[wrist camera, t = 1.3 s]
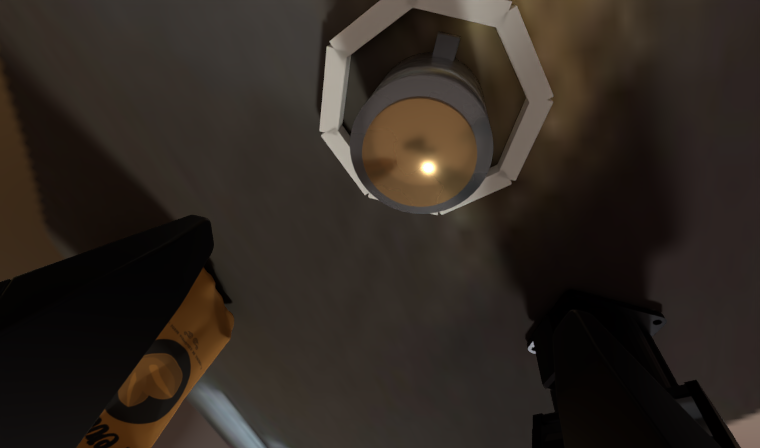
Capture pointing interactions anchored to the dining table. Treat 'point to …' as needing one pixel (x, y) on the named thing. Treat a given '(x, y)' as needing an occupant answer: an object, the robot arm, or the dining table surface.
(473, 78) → the round spotlight head
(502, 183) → the collar
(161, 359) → the coffee package
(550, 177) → the dining table surface
